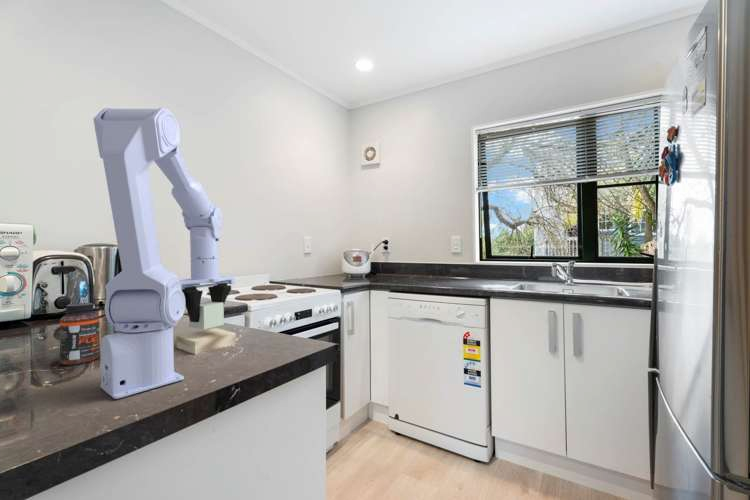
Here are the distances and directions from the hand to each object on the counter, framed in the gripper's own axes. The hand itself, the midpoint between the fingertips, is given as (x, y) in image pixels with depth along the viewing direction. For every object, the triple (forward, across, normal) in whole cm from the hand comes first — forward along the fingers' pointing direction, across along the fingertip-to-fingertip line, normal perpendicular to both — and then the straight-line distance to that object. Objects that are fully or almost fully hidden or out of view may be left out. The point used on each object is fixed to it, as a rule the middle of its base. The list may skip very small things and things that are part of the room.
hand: (206, 319), depth 77 cm
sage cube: (+2, 0, 0) cm, 2 cm away
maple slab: (+6, 0, 0) cm, 6 cm away
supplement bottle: (+6, -18, +14) cm, 23 cm away
